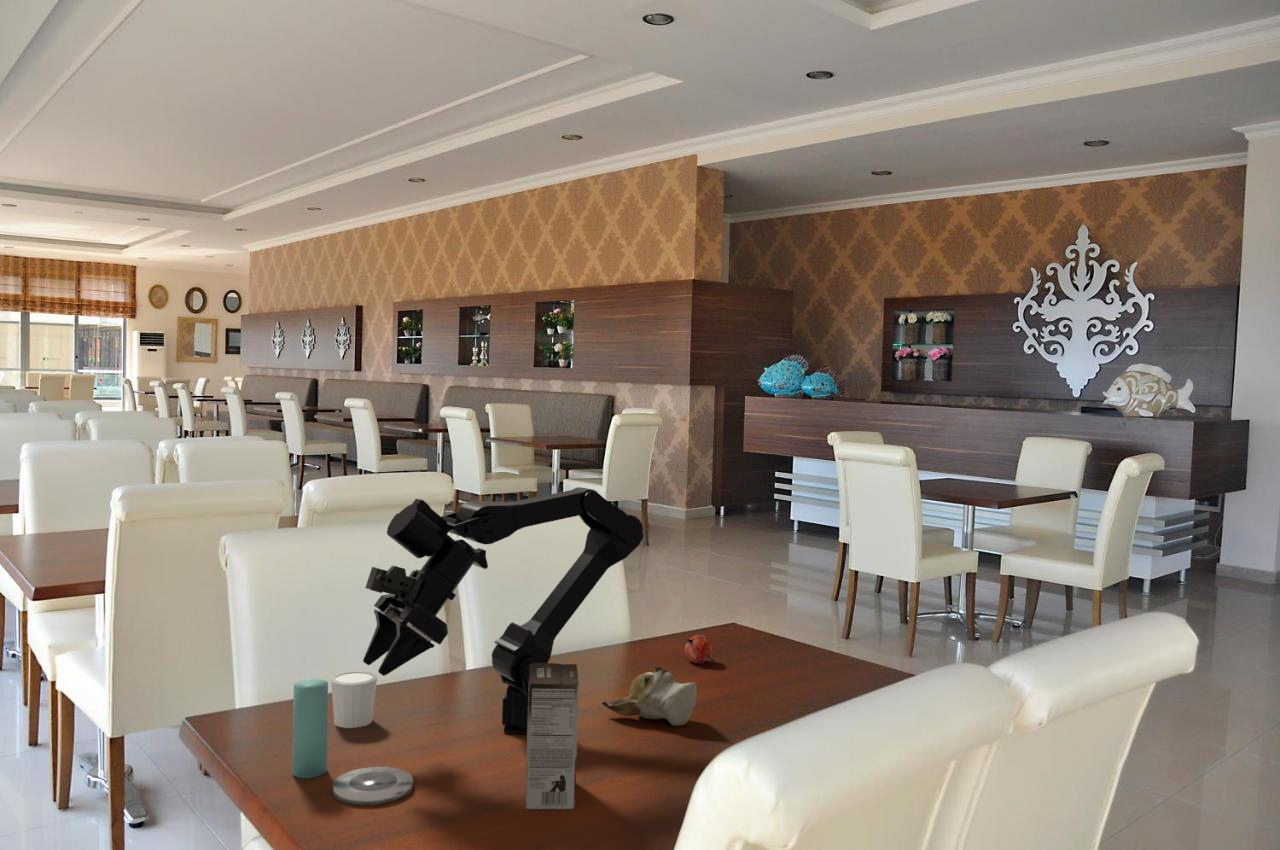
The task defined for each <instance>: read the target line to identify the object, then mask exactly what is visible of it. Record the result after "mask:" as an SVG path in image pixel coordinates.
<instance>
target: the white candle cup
mask: <svg viewBox="0 0 1280 850" xmlns="http://www.w3.org/2000/svg"><path fill="white" fill-rule="evenodd" d="M377 680H378V677H377V675H376V674H374V673H371V672H366V671H351V672H350V671H348V672H343V673H338V674H336V675H334V676H332V678H330V681H331V683H330V684H331V694H332V706H333V708H332V709H333V710H332V711H333V722H334V725H335V726H337V727H338V728H342V727H343V729H356V728H357V727H359V728H362V726H363V727H366V726H368V725H370V724H371V723H372V722H373V716H374V707H375V699H376V690H377V689H376V688H377V683H378V681H377ZM357 729H358V728H357Z"/></svg>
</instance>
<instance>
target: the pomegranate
mask: <svg viewBox="0 0 1280 850" xmlns="http://www.w3.org/2000/svg"><path fill="white" fill-rule="evenodd" d="M686 642H687V643H686V644H685V647H684V652H685V656H686V657H687V659H688V660H689V661H692V662H693V663H695V664H698V665H702V664H705V663H706V661H707V658H708V659H709V660H711V661H712V662H713V661H714V659H713V658H712V657H710V656H711V655H712V653H713V652H712V651H713V646H712V641H711V640H710V638H709V637H708V636H707V635H705V634H695V635H693V636H691V637H689V638H687V639H686Z"/></svg>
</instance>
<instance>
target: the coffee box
mask: <svg viewBox="0 0 1280 850" xmlns="http://www.w3.org/2000/svg"><path fill="white" fill-rule="evenodd" d="M579 682H580V681H579V674H578V665H577V664H576V663H572V664H571V663H569V664H567V663H563V664H562V663H555V662H554V663H553V662H548V663H531V664H530V670H529V688H528V718H527V733H526V761H525V762H526V764H525V765H526V766H525V767H526V768H525V769H526V770H525V773H526V774H525V778H526V779H525V784H526V785H525V786H526V787H525V788H526V789H525V809H526V810H574V809H575V807H576V784H577V783H576V782H577V781H576V780H577V779H576V778H577V757H578V756H577V755H578V754H577V751H578V721H579V719H578V718H579V689H580V688H579V686H580V684H579Z"/></svg>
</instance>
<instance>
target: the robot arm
mask: <svg viewBox="0 0 1280 850" xmlns="http://www.w3.org/2000/svg"><path fill="white" fill-rule="evenodd" d="M578 516H579V518H580V519H581V521H582V523H583V524H585V526H587V527H588V528H589V530H588V532H587V534H586V540H585V545H584V548H583V551H582V552H581V554H580V555H579V557H578V558H577V559H576V561H575V562H574V563H573V564H572V566H570V568H569V569H568V571H567V572H566V573H565V574H564V576H563V577H562V579H561V580H560V581H559V582H558V584H556V586H555V587H554V588H553V590H552V591H551V593H550V594H549V595H548V597H546V598H545V600H544V602H543V603H542V604H541V605H540V606H539V607H538V609H537V610H536V612H535V613H534V614H533V616H532V617H531V618H530V619H529V620H528V621H526V622H524V623H523V624H522V625H519V624H518V623H515V622H512V621H511V623H509V624H508V625H507V626H506V629H505V630H504V633H502V635H501V636H500V637H498V639H495V641H494V643H495V644H496V645H495V647H494V649H493V650H492V653H491V664H492V667H493V669H494V671H495V672H496V673H497V674H499V676H500V679H501V682H502V683H503V684H506V685H508V686H507V688H506V693H505V694H504V696H503V698H502V708H501V709H502V712H501V713H502V717H501V725H502V726H503V727H504V728H503V733H505V734H527V718H528V688H529V670H530V664H531V663H550V662H549V661H551V657H552V651H553V646H554V641H555V640H556V638H557V636H558V635H559V634H560V632H562V630H563V628H564V627H565V626H566V625H567V623H568V622H569V621H570V619H571V618H572V616H573V615H574V614H575V612H576V611H577V610H578V609H579V607H580V606H581V604H583V602H584V601H585V600H586V598H587V597H588V596H589V594H590V592H592V590H593V589H594V587H596V585H597V584H598V582H600V580H601V578H603V576H604V575H605V573H606V572H607V570H608V569H609V568H611V567H612V566H614V565H616V564H617V563H619V562H622V561H623V560H625V559H627V558H628V557H629V556H630V555H632V554H631V553H633V552H634V551H635V550H637V548H638V547H639V546H640V545H641V543H642V541H643V539H644V537H645V535H644V528H643V524H642V521H640V519H639V518H638V517H637V516H635V515H632V514H628V513H626V512H625V511H624V510H622V509H620V508H619V507H617V506H616V505H615V504H613V503H612V502H610V501H609V500H607V499H605V498H604V497H603V496H602V495H601V494H600V493H598V491H597V490H595V489H593V488H592V489H591V488H586V487H581V486H580V487H578V486H577V487H575V488H572V489H570V490H565V491H561V492H556V493H551V494H545V495H540V496H539V495H538V496H535V497H530V498H525V499H520V500H515V501H492V500H491V501H490V500H489V501H487V500H486V501H483V500H482V501H481V500H480V501H477V500H475V501H474V500H473V501H467V502H464V503H462V504H461V505H460V506H459V508H458V510H456V511H454V512H451V513H448V514H445V515H442V516H441V515H440V514H438V513H437V512H436V511H435V510H433V509H432V508H431V506H430V504H428V503H427V502H426V501H424V500H423V499H420V498H415V499H414V501H413V502H412V504H409V505H407V506H406V507H404V508H402V510H401V511H400V512H398V513H395V515H394V516H393V517H392V519H391V521H390V522H389V524H388V526H387V530H386V534H387V536H388V537H389V538H391V539H392V540H393V541H395V542H396V543H397V544H398V545H399V546H401V547H402V548H403V549H405V550H406V551H407V552H409V554H411V555H412V556H414V557H415V558H416V559H421V558H424V557H426V558H427V557H428V559H427V560H426V562H425V563H424V565H423V566H422V567H421V569H420V570H419V569H415V570H414V569H413V570H412V571H411V572H410V574H409V575H408V576H407V572H406V568H403V567H400V566H396V565H391V566H390V568H388V570H385V569H382V568H379V567H374V566H371V570H370V572H369V576H368V578H367V581H366V585H365V589H367V590H370V591H373V592H376V593H380V594H381V596H380V597H379V598H378V600H376V602H375V603H374V605H373V607H375V609H374V611H373V613H374V616H375V620H376V627H375V630H374V632H373V635H372V638H371V639H370V643H369V645H368V647H367V649H366V651H365V654H364V657H363V659H362V661H363V663H364V664H366V665H367V666H370V665H372V664H373V663H374V662H376V661H377V660H379V659H380V658H381V657H382V656H384V655H385V654H386V655H385V656H384V657H383V660H382V661H381V664H380V666H379V668H378V669H377V670H378V674H380V675H381V676H383V677H385V676H387V675H389V674H390V673H392V672H394V671H395V670H397V669H398V668H400V667H401V666H403V665H404V664H405V663H408V662H410V661H411V660H412V659H414V658H416V657H418V656H419V655H421V654H423V653H425V652H426V651H428V650H429V649H434V647H435V646H436V645H435V644H437V645H441V644H442V643H443V641H444V640H445V638H446V637H447V636H448V634H449V631H448V630H449V629H448V623H446V622H444V621H443V619H441V618H439V617H438V616H437V615H438V614H439V612H440V611H441V610H442V608H443V607H444V605H445V604H446V603H447V601H448V600H449V601H453V600H454V598H455V597H456V596H457V594H456V593H454V592H455V591H456V589H457V587H458V586H459V584H460V583H461V581H462V580H463V579H464V577H465V576H466V575H467V574H468V572H469V571H470V569H471V568H472V566H475V567H478V568H481V569H483V570H486V569H488V567H489V565H488V560H487V550H486V549H483V548H480V547H479V548H475V547H473V546H472V544H471V545H470V544H469V543H468V542H467V541H466V540H468V541H469V540H470V541H472V542H476V543H478V544H481V545H492V544H495V543H496V542H497V543H498V542H499V541H501V540H503V539H506V538H509V537H511V536H512V535H513V534H514V533H515V532H517V531H519V530H522V529H524V528H528V527H532V526H537V525H540V524H541V525H542V524H546V523H550V522H555V521H559V520H565V519H569V518H573V517H578ZM448 533H450V534H452V535H456V536H458V537H462V538H463V539H461V538H459V539H457V540H455V539H454V538H452V537H451V536H450V535H448ZM464 539H466V540H464ZM382 593H386V594H383V595H382ZM377 609H378V610H377ZM432 642H434V643H435V644H434V643H432Z"/></svg>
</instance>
